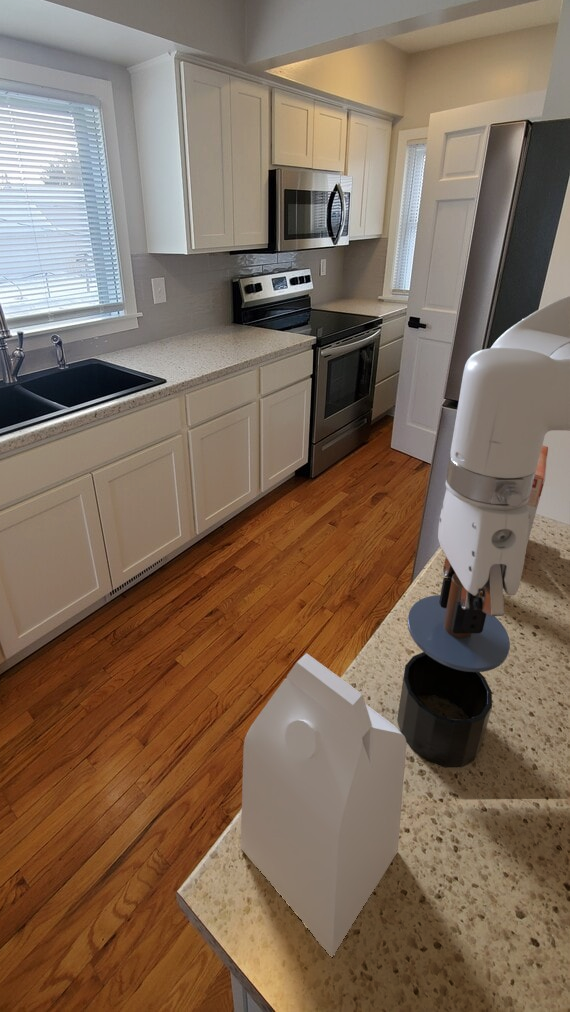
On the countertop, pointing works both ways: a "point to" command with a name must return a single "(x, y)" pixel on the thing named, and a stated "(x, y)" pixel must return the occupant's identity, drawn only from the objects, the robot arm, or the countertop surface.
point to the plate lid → (456, 635)
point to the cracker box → (537, 487)
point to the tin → (437, 733)
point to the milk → (322, 798)
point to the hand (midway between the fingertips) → (459, 617)
